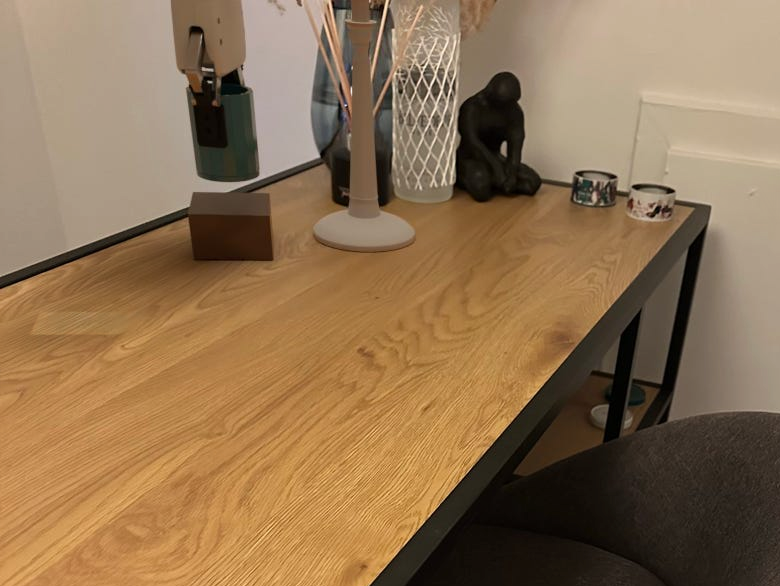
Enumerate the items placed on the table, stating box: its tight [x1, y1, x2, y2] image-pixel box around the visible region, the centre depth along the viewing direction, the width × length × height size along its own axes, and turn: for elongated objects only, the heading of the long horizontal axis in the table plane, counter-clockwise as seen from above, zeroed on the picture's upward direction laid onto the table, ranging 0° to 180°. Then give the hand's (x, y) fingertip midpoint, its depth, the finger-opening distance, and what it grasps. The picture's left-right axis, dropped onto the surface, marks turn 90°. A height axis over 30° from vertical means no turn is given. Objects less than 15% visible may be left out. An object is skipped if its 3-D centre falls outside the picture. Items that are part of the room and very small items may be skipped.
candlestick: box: [312, 0, 416, 253], centre depth 109 cm, size 13×13×30 cm
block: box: [187, 191, 274, 261], centre depth 110 cm, size 9×9×5 cm
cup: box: [185, 82, 261, 183], centre depth 104 cm, size 7×7×8 cm
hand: (224, 137), depth 105 cm, fingers closed on cup, 7 cm apart
